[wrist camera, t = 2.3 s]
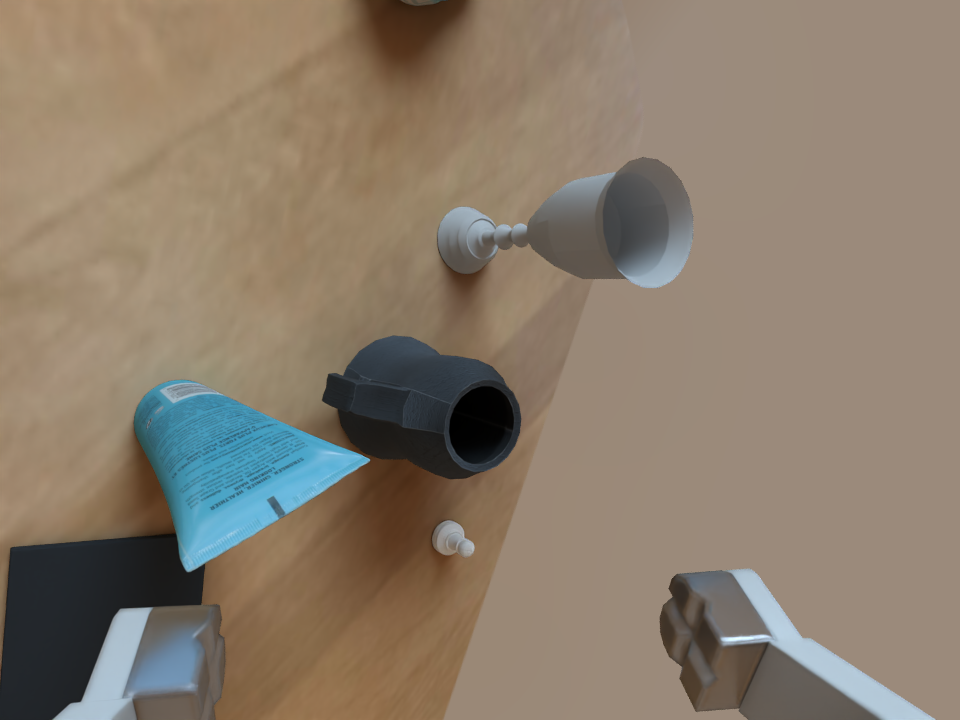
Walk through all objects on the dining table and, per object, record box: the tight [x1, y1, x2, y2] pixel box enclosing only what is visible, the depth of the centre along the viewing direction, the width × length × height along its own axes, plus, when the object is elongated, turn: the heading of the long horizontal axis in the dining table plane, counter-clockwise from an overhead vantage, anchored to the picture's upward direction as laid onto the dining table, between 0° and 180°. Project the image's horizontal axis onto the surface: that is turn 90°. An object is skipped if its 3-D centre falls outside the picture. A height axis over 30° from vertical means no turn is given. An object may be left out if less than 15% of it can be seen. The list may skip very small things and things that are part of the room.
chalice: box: [438, 157, 693, 288], centre depth 43 cm, size 7×7×18 cm
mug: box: [322, 336, 521, 479], centre depth 43 cm, size 12×9×11 cm
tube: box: [134, 380, 370, 572], centre depth 32 cm, size 7×5×19 cm, turn 118°
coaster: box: [0, 534, 205, 720], centre depth 39 cm, size 10×10×1 cm
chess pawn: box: [432, 520, 475, 557], centre depth 50 cm, size 3×3×4 cm
